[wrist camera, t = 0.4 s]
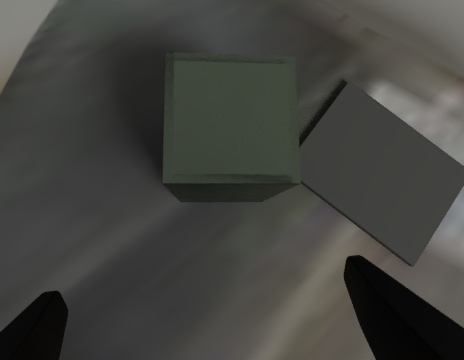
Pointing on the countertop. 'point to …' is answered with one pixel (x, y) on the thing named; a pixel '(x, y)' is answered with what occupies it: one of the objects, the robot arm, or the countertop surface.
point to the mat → (380, 173)
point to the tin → (230, 127)
